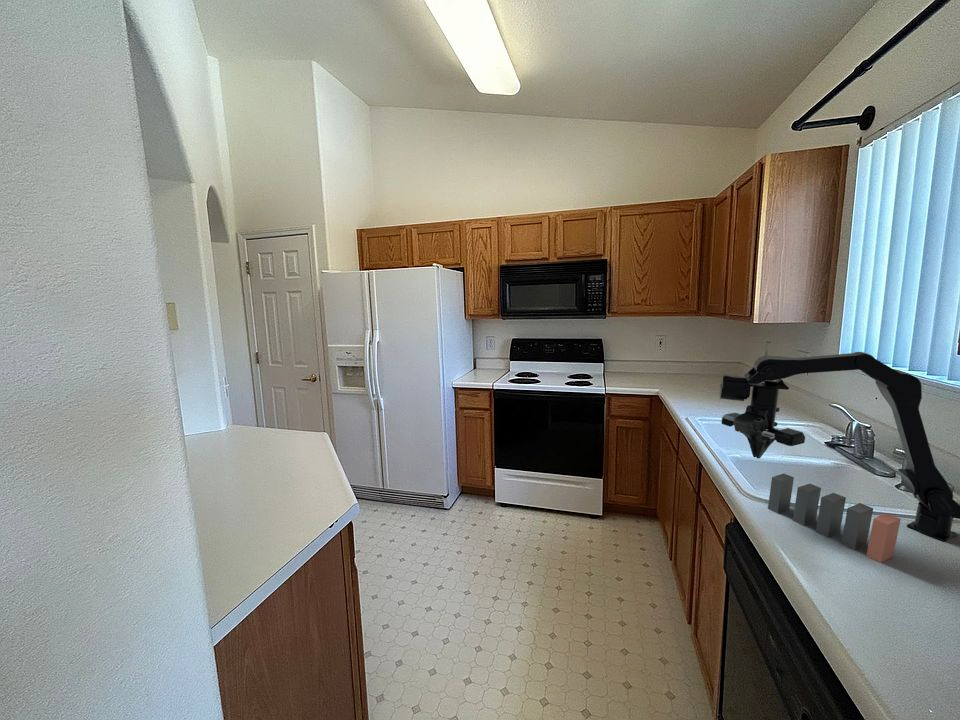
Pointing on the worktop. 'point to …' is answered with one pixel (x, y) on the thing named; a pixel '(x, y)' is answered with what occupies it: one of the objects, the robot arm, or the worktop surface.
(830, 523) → the domino
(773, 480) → the domino
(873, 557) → the red domino
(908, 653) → the worktop surface
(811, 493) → the domino
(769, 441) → the robot arm
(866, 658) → the worktop surface
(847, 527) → the domino
